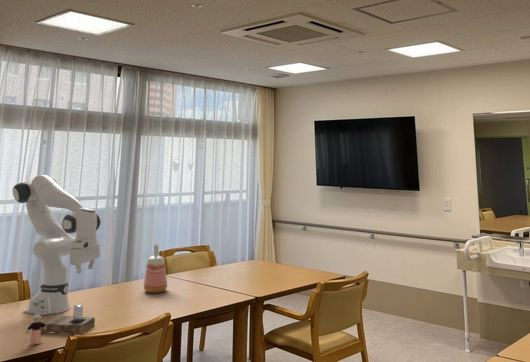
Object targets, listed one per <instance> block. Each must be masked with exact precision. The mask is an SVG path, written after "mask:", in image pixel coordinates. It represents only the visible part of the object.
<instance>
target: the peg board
mask: <svg viewBox="0 0 530 362" xmlns="http://www.w3.org/2000/svg"><path fill="white" fill-rule="evenodd" d="M95 320H96V319H95V317H91V316H83V322H81V323H73V316H72V315H57V314H55V315H53V316H51V317H49V318H48V319H46V320H44V321H41V322H42V323H44V324H45V326H46V328H47V329H46V330H44V328H43V327H40V329H41V333H43V332H54V333H53V334H59V333H70V334H69V335H76V334H81V335H83V334H84V333H86V332H88V331H89V330H90V329H92V328H93V327H95Z"/></svg>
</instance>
